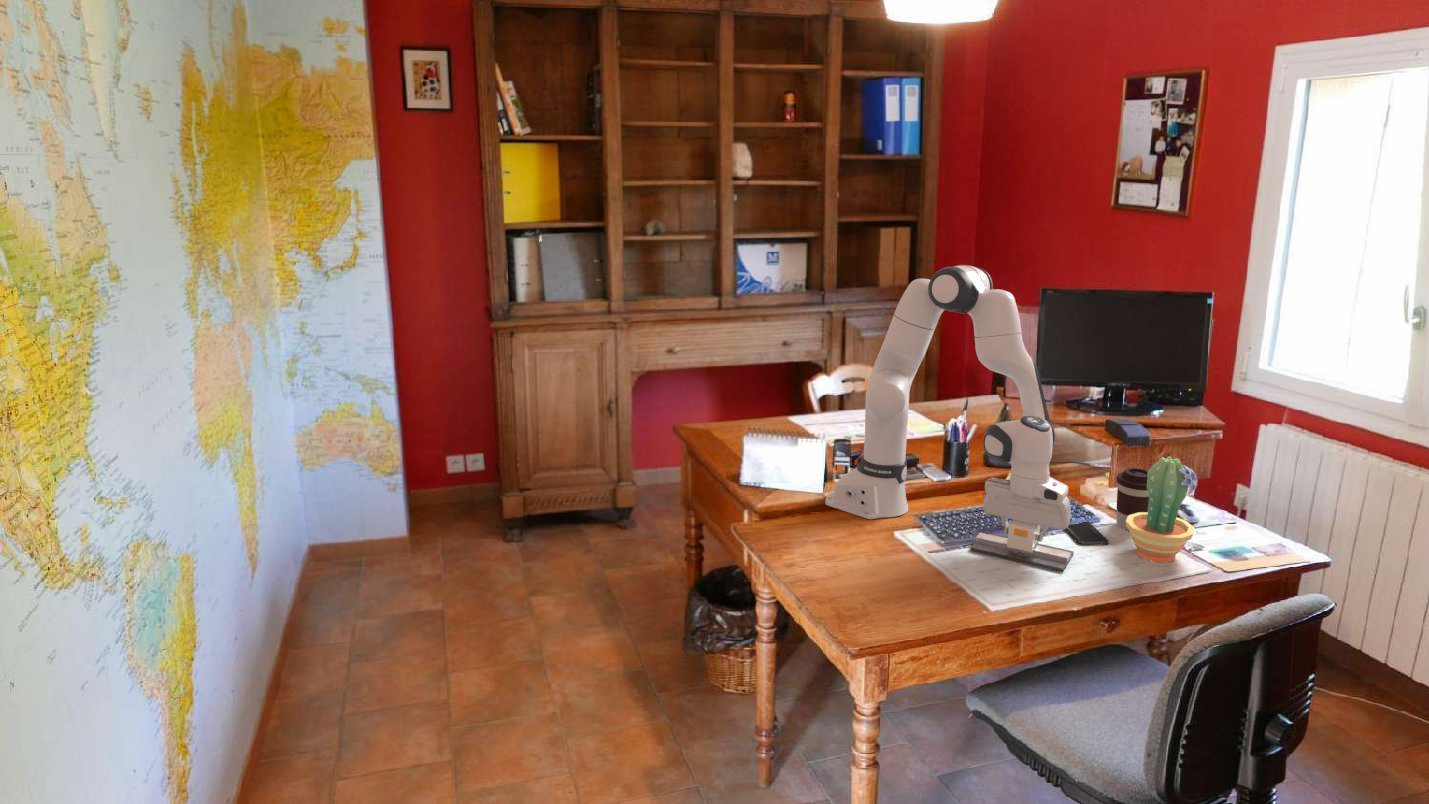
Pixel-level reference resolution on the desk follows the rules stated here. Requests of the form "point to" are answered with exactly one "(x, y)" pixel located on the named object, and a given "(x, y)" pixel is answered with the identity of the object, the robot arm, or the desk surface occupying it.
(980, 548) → the rail
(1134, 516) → the potted cactus
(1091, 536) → the phone
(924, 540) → the desk surface
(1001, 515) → the robot arm
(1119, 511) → the coffee cup
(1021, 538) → the block
